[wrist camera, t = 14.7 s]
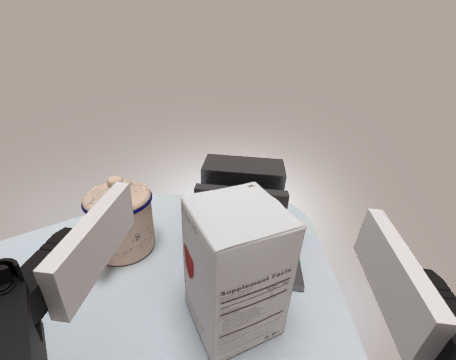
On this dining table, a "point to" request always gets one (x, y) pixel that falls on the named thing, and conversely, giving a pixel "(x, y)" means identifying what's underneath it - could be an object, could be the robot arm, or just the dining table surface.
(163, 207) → the dining table surface
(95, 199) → the teacup with lid
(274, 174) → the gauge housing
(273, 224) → the supplement box
